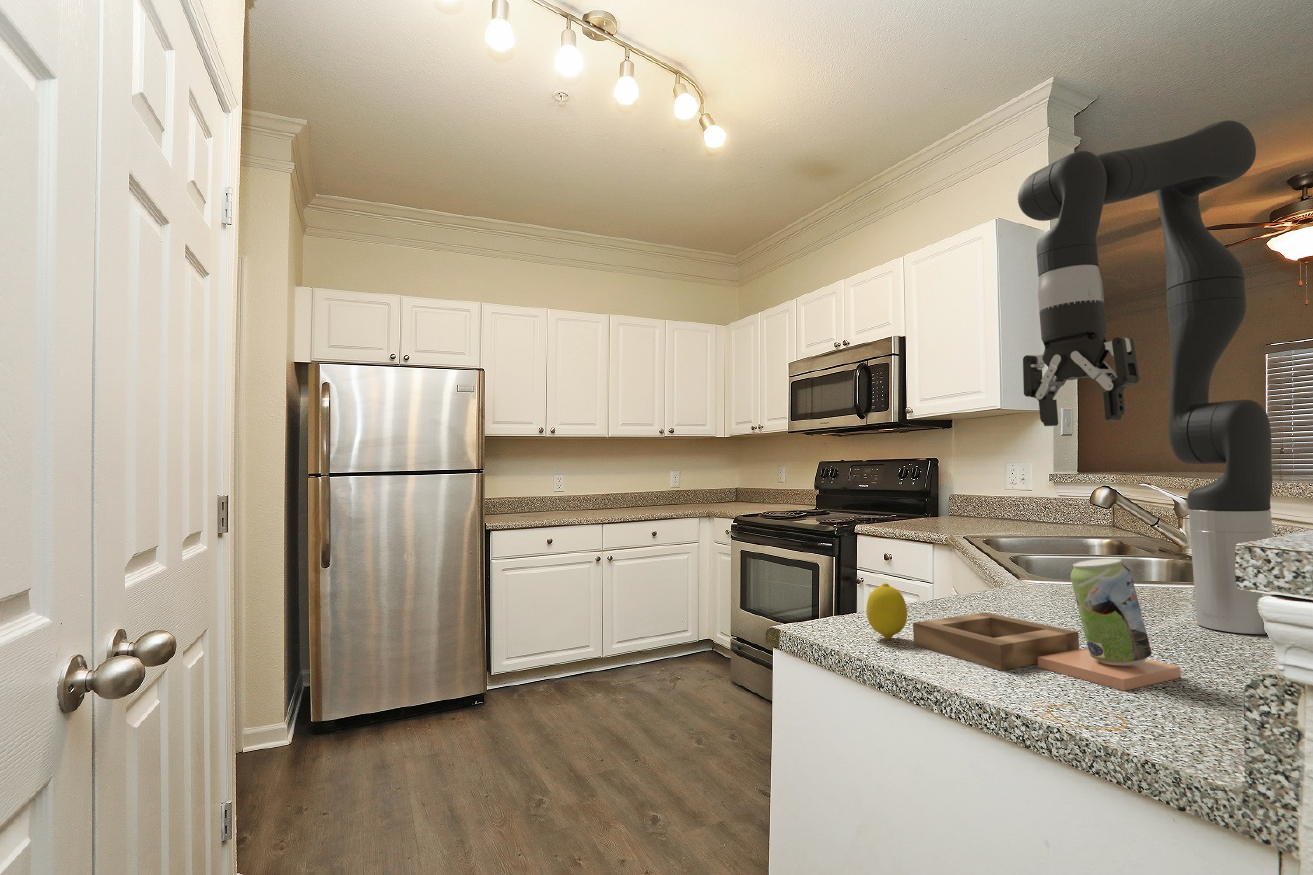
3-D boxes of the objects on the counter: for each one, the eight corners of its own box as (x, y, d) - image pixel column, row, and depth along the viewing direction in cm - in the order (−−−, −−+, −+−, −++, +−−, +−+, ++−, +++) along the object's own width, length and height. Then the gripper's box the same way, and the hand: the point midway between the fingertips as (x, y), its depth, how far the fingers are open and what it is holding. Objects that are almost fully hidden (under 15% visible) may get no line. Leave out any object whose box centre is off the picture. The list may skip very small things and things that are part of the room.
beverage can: (1164, 671, 73) (1155, 562, 74) (1090, 669, 74) (1082, 562, 75) (1135, 656, 79) (1127, 555, 80) (1067, 654, 80) (1060, 555, 81)
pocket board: (986, 632, 97) (985, 612, 97) (1079, 655, 84) (1078, 631, 84) (914, 644, 92) (912, 622, 92) (1001, 670, 79) (999, 645, 79)
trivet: (1092, 656, 84) (1092, 646, 84) (1180, 677, 74) (1180, 666, 74) (1038, 666, 80) (1037, 656, 80) (1123, 690, 70) (1123, 679, 71)
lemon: (893, 646, 91) (890, 587, 91) (859, 638, 95) (857, 583, 96) (916, 639, 94) (913, 583, 95) (882, 632, 99) (880, 578, 99)
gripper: (1143, 292, 85) (1155, 417, 84) (1040, 318, 98) (1049, 427, 97) (1106, 289, 82) (1118, 418, 81) (1005, 316, 95) (1014, 428, 94)
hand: (1080, 423), depth 89 cm, fingers open, 8 cm apart
